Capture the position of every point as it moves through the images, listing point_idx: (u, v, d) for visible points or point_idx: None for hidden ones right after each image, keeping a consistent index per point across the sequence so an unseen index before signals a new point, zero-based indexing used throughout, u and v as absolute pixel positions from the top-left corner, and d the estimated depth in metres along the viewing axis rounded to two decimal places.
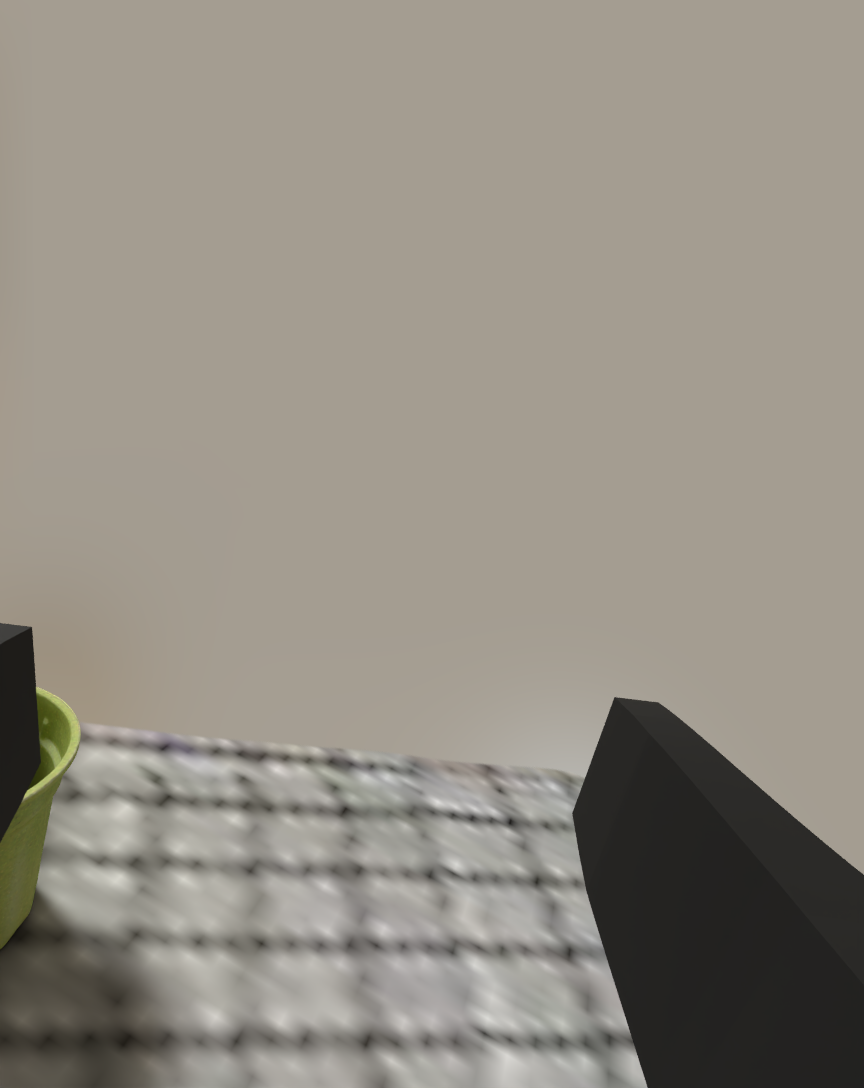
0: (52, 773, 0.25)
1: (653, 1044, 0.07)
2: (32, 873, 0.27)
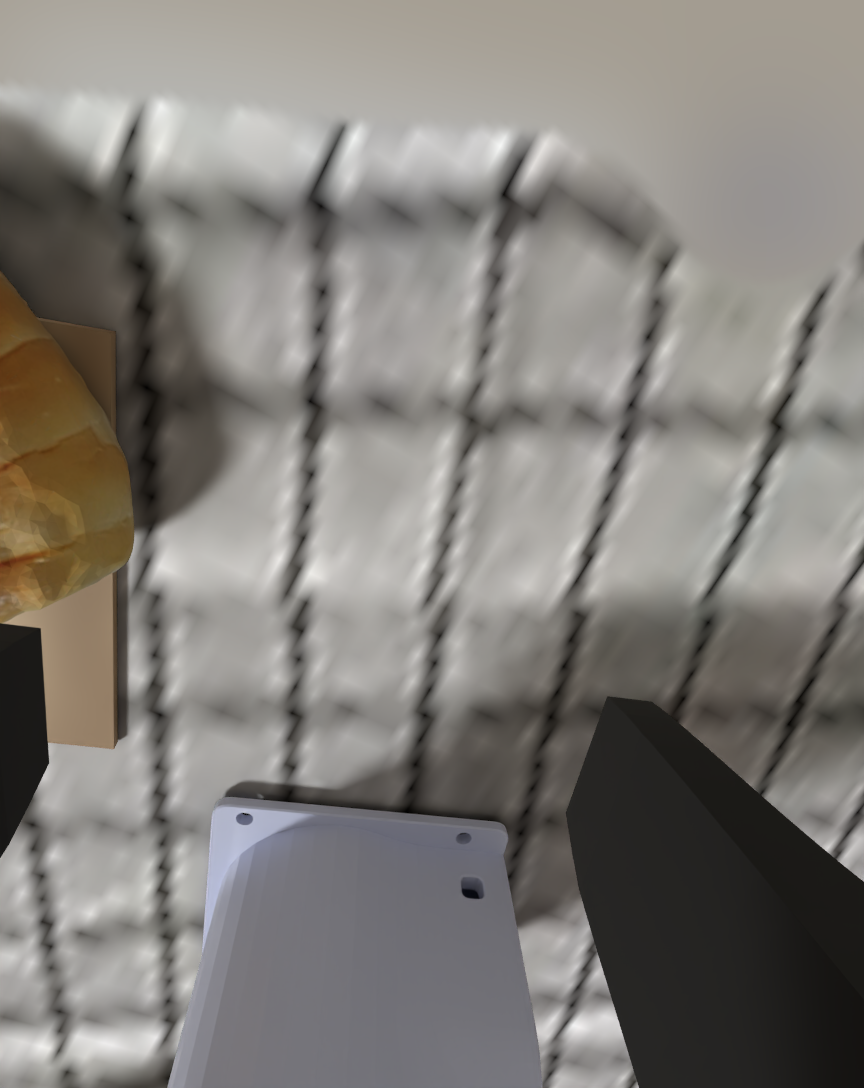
0: None
1: (644, 1044, 0.07)
2: None
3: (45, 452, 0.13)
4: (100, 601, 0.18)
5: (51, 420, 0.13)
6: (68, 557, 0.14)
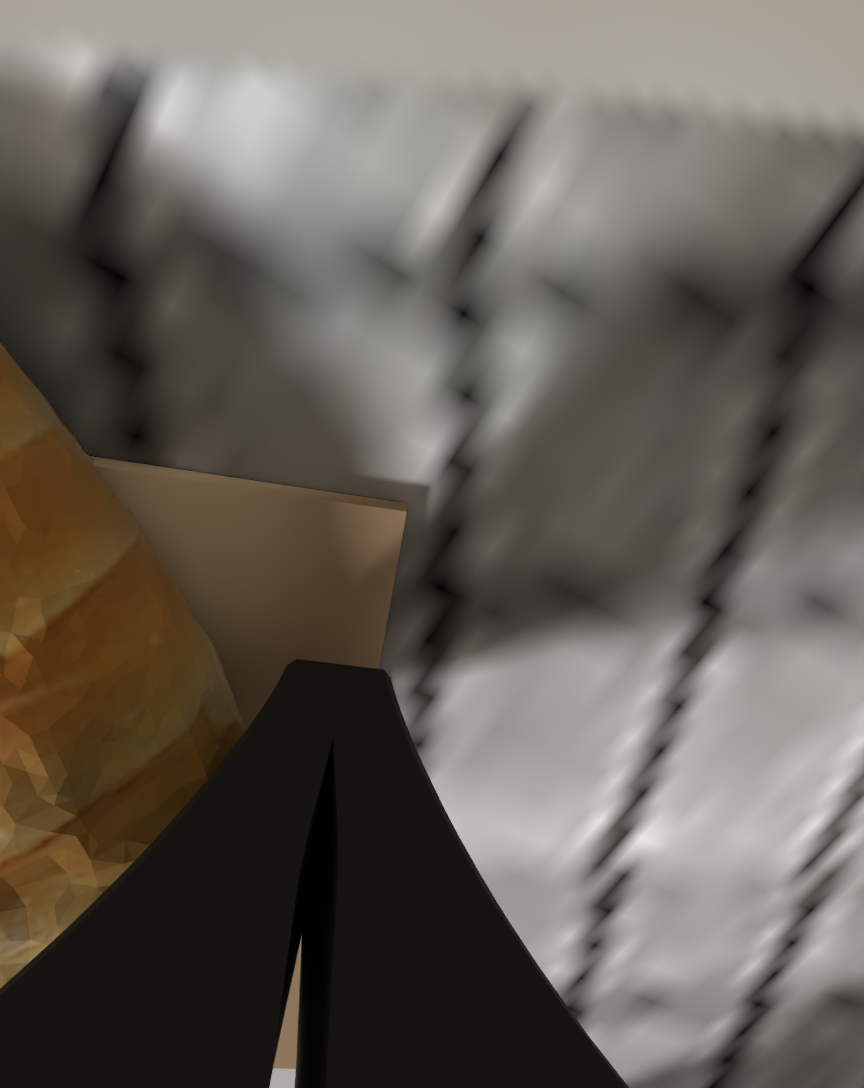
0: None
1: (300, 1027, 0.06)
2: None
3: (124, 789, 0.07)
4: None
5: (138, 725, 0.07)
6: None
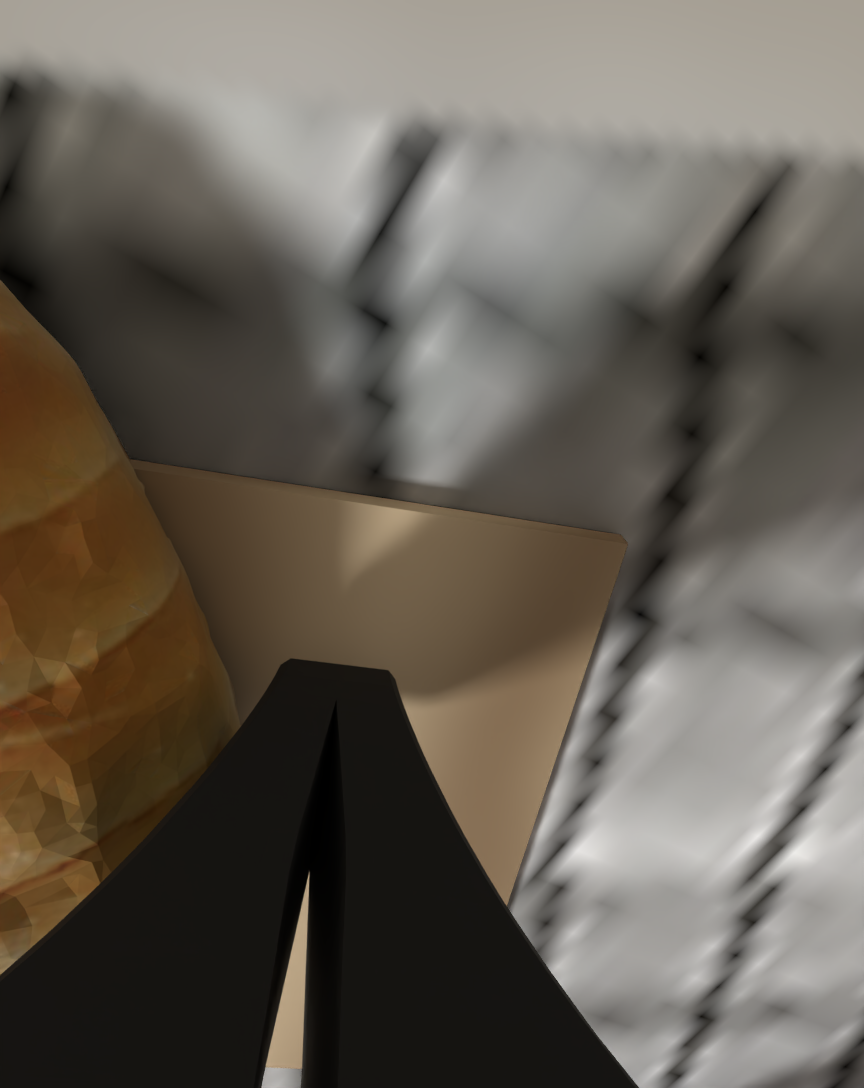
0: None
1: (306, 1027, 0.06)
2: None
3: (141, 820, 0.07)
4: None
5: (164, 757, 0.07)
6: None
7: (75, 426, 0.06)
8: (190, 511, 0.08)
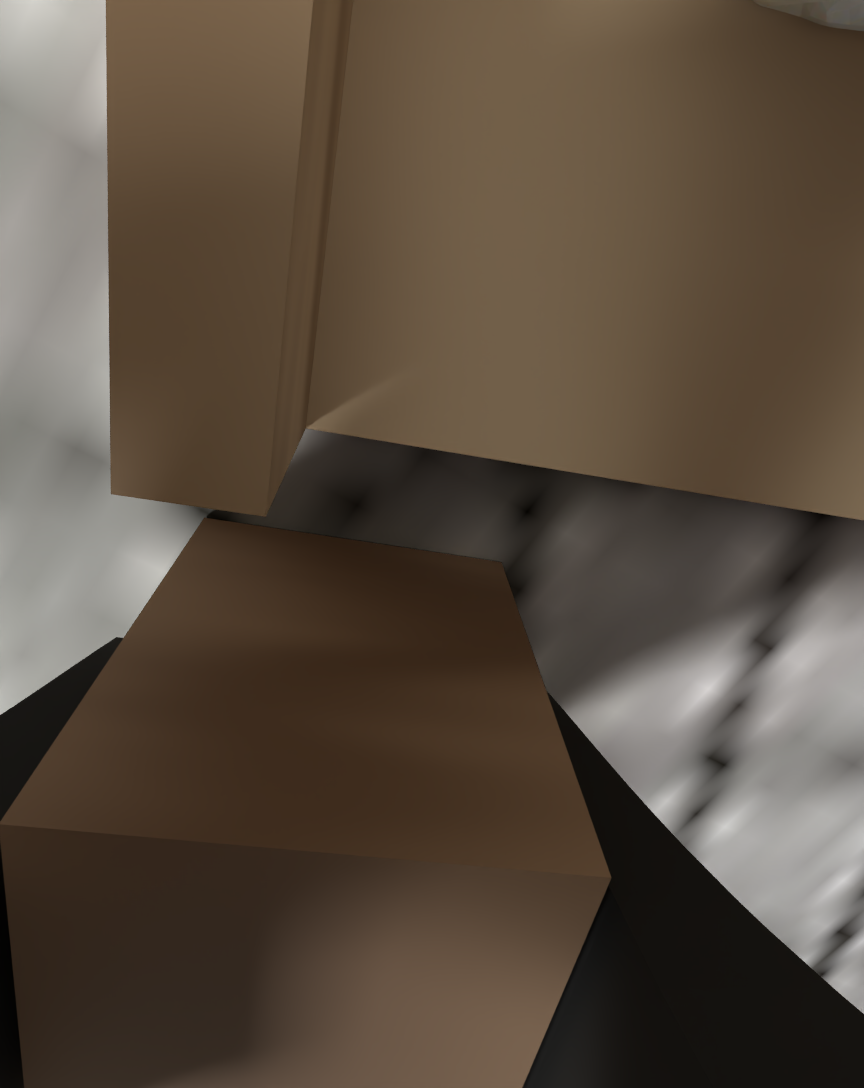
0: None
1: None
2: None
3: None
4: None
5: None
6: None
7: None
8: None
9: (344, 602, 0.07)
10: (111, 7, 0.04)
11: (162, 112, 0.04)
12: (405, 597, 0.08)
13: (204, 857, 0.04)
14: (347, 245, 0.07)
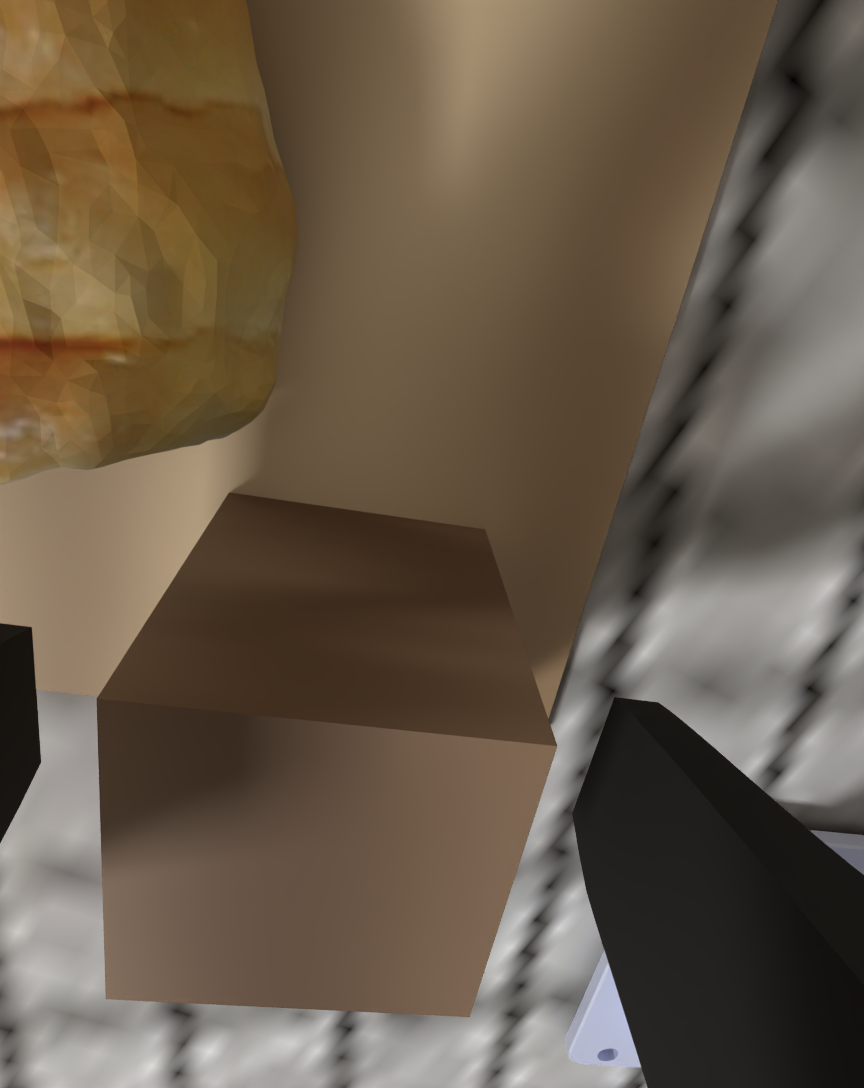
0: None
1: (653, 1044, 0.07)
2: None
3: (178, 113, 0.06)
4: (600, 495, 0.10)
5: (200, 47, 0.06)
6: (173, 368, 0.07)
7: None
8: None
9: (350, 558, 0.09)
10: None
11: None
12: (401, 555, 0.09)
13: (248, 727, 0.06)
14: None
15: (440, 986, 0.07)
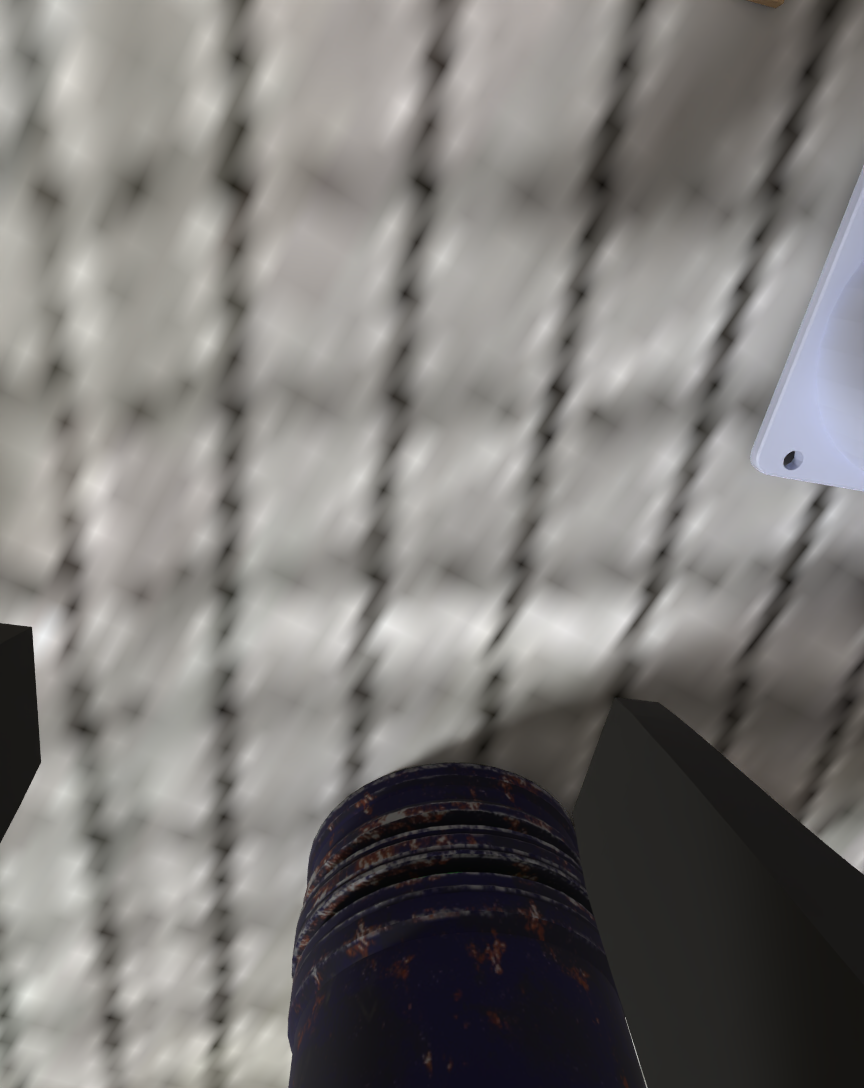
0: None
1: (653, 1044, 0.07)
2: None
3: None
4: None
5: None
6: None
7: None
8: None
9: None
10: None
11: None
12: None
13: None
14: None
15: None
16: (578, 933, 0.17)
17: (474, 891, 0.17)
